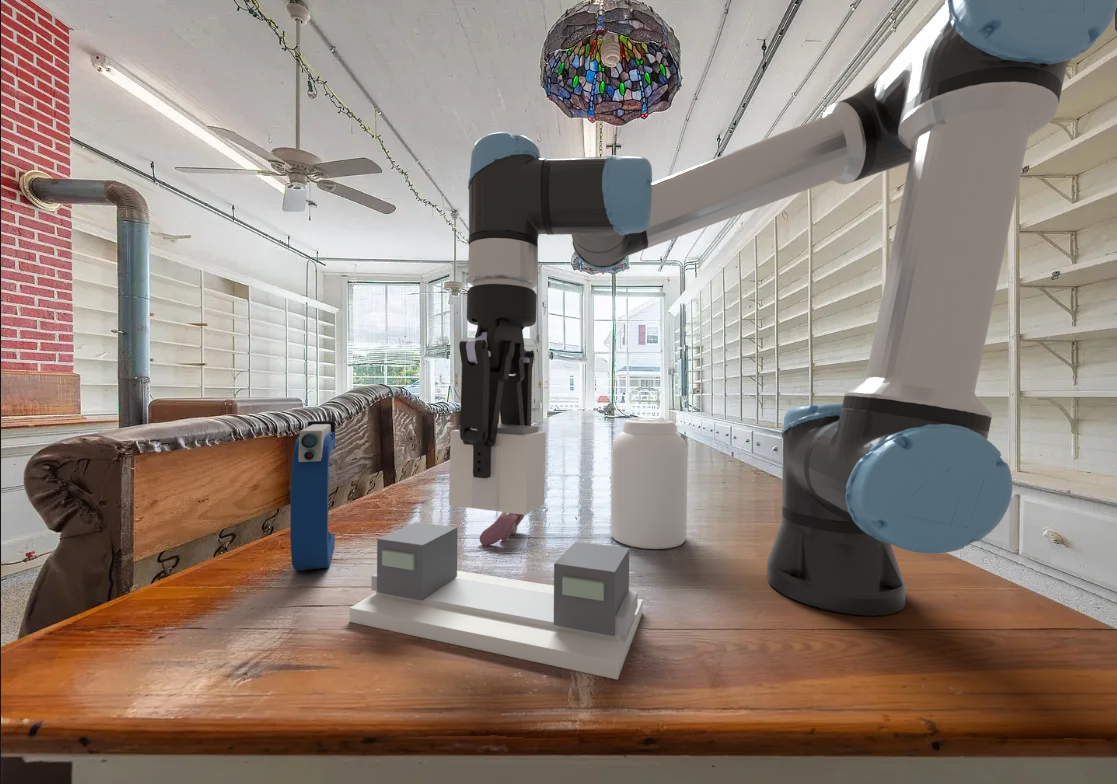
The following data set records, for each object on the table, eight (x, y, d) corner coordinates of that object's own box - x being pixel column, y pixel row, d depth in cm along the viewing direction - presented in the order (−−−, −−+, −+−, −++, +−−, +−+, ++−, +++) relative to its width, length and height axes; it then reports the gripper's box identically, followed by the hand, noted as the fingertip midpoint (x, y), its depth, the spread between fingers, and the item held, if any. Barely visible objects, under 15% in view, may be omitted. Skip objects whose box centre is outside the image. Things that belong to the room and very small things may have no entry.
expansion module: (472, 495, 56) (474, 422, 56) (543, 503, 53) (545, 426, 53) (448, 505, 51) (450, 425, 51) (525, 514, 48) (527, 429, 48)
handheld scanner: (338, 542, 76) (336, 420, 76) (329, 580, 61) (327, 428, 61) (306, 545, 75) (304, 421, 74) (289, 586, 60) (286, 429, 59)
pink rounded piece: (500, 557, 75) (519, 519, 74) (475, 542, 75) (495, 504, 75) (517, 538, 84) (535, 504, 84) (495, 525, 85) (512, 491, 84)
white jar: (608, 526, 86) (609, 416, 86) (677, 528, 86) (679, 417, 86) (613, 550, 74) (614, 421, 74) (694, 552, 73) (696, 422, 73)
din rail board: (642, 612, 53) (643, 540, 53) (617, 679, 41) (618, 586, 41) (422, 576, 63) (423, 515, 63) (349, 621, 51) (350, 545, 51)
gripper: (507, 303, 61) (503, 483, 62) (423, 270, 44) (418, 519, 45) (561, 301, 59) (557, 489, 59) (495, 265, 42) (489, 528, 42)
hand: (497, 501), depth 52 cm, fingers closed on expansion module, 5 cm apart
